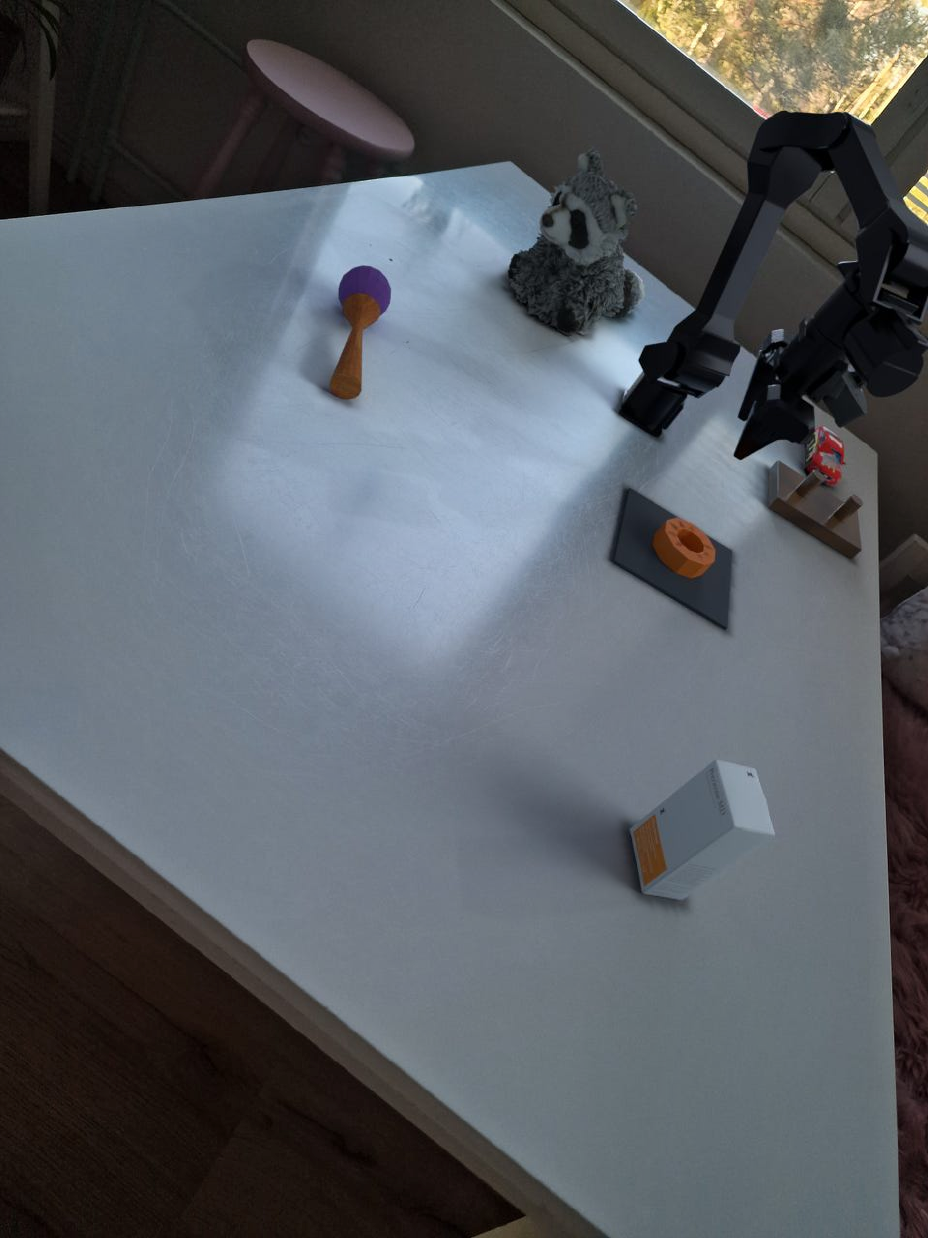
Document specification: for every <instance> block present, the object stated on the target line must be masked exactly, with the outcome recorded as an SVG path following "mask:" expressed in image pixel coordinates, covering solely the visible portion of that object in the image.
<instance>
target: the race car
mask: <svg viewBox="0 0 928 1238" xmlns="http://www.w3.org/2000/svg"><path fill="white" fill-rule="evenodd" d="M844 443H845V442H844V441H843V440H842V439H841V437H839V436H838V435H837V434H836V433H835V432H833V431H832V430H831V429H829V428H827V427H825V426H821V425H820V426H818V427H816V428H815V433H814V434H813V435H812V436H811V437H810V438H809V439H808V440H807V441H806V442H805V443H804V444H805V446H806V451H805V452H806V453H805V464H804V467H803V468H804V470H806V471H807V472H809V474H810V473H811V472H812V471H813V470H817V471H819V472H820V473H821V474H822V475H823V476H824V478H825V480H824V481H823V482H822V483H821V484H823V485H825V486H828V487H834V486H836V485H837V484H838V483H839V482H840V480H841V478H842V469H843V465H844V466H846V465H847V463H846V462H845V461H844V459H845V444H844Z"/></svg>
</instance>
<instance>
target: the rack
mask: <svg viewBox="0 0 928 1238" xmlns="http://www.w3.org/2000/svg"><path fill="white" fill-rule="evenodd" d="M824 480H825V478H824V476H823V475H822V474H821V473H820V472H819V471H817V470H813V471H812V472H811V473H810V472H809V474H808V475H807V476H804V475H803V474H802V473H799V472H798V471H796V470H795V469H793V468H792V467H790V466H789V465H787V464H786V463H784V462H782V461H781V460H779V459H777V460H776V461H774V463H773V465H771V466H770V467H769V469H768V489H767V491H768V493H767V495H768V497H767V499H768V501H767V507H768V508H769V510H772V511H773V512H775V513H777V514H778V515H780V516H781V517H783V518H784V519H786V520H788V521H789V522H790V523H792V524H794V525H796V526H797V527H799V528H800V529H802V530H803V531H805V532H806V533H808V534H810V535H811V536H813V537H814V538H816V539H817V540H819V541H821V542H822V543H824V544H825V545H827V546H829V547H830V548H832V549H834V550H835V551H837V552H839V553H840V554H842V555H843V556H845V557H846V558H848V559H849V560H853V559H854V558H855V557H856V556H857V555H858V554H859V553H861V552H862V550H863V549H862V540H861V531H860V521H859V512H858V510H859V509H861V507H862V506H864V502H863V500H862V499H861V498H860V497H859V495H857V494H851V495H850V496H849V497H848V498H846V500H845V501H843V500H842V499H841V498H838V497H837V496H836V495H834V494H833V493H831V492H829V491H828V490H826V489H825V488H823V487H821V486H820V485H821V484H823V483H822V482H823V481H824Z"/></svg>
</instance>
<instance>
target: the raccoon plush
mask: <svg viewBox="0 0 928 1238" xmlns="http://www.w3.org/2000/svg"><path fill="white" fill-rule="evenodd" d="M601 157H602V156H601V153H599V150H596V149H595V147H594V146H591V147H590V149H589V150H587V152H584V153H580V154H579V156H578V157H577V165H578V166H577V168H578V172H576V173H574V174H572V175H571V176H570V177H569V178H567V179H565V181H562V183H561V184H559V185H558V186H555V185H554V186H553V189H554V190H555V191H554V192H550V198H549V202H550V204H551V205H548V206H547V208H546V209H545V210H544V211H543V212H542V214H541V215H540V218H539V222H538V223H539V230H540V233H539V232H538V235H539V236H537V237H536V242H535V243H534V244H533V245H532V247H529V248H528V250H525V249H524V250H522V249H520V251H519V252H517V253H514V254H513V256H512V257H511V258H510V263H509V266H508V270H507V278H508V281H509V283H510V287H512V289H513V295H514V296H515V297H514V298H515V299H516V301H517V300H518V302H519V303H520V304H522V303H523V304H527V306H526V308H527V310H528V312H527V314H528V315H532V316H534V317H538V320H540V321H541V322H543V323H544V324H546V325H547V324H549V323H550V325H551V327H554V328H556V330H557V331H559V332H561V333H562V334H564V335H566V336H568V337H573V336H576V334H580V335H581V336H590V335H591V334H590V331H591V330H592V328H594V325H595V324H596V322H598V321H599V319H600V318H601V316H604V317H608V318H609V317H610V318H612V317H614V318H616V319H622V318H625V317H626V315H627V314H628V315H630V314H631V312H633V311H634V309H635V308H636V306H638V305H639V304H640V303H641V302H642V301H643V299H644V298H645V296H646V289H645V288H646V285H645V284H644V282H643V279H642V278H641V277H640V275H638V274H637V273H636V271H632V270H631V269H628V268H625V266H624V261H625V258H626V257H625V255H624V252H623V251H624V248H623V247H622V246H621V243H622V244H623V243H624V242H626V241H627V237H628V236H629V230H628V226H631V221H633V219H634V218H635V216H636V215H637V211H638V205H637V204H638V202H637V200H636V199H635V197H634V193H633V192H630V190H625V187H624V186H623V185H622V186H618V184H614V183H615V181H613V180H610V179H606V176H605V175H604V172H605V170H604V162H603V159H601Z"/></svg>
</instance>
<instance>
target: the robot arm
mask: <svg viewBox="0 0 928 1238" xmlns="http://www.w3.org/2000/svg"><path fill="white" fill-rule="evenodd" d="M746 169H747V170H746V171H747V173H746V174H747V189H748V190H747V194H746V196H745V198H744V200H743V202H742V205H741V207H740V210H739V212H738V214H737V216H736V219H735V221H734V223H733V225H732V228H731V229H730V231H729V234H728V237H727V238H726V240H725V243H724V246H723V247H722V250H721V252H720V254H719V257H718V259H717V262H716V263H715V265H714V268H713V270H712V272H711V274H710V277H709V279H708V281H707V284H706V286H705V287H704V290H703V293H702V295H701V297H700V299H699V302H698V304H697V306H696V308H695V309H694V311H692V312H691V313H690V314H688V315H687V316H686V317H685V318H683V319H682V320H680V322H678V323H677V324H676V325H675V326H674V327H673V328H672V330H671V332H670V334H669V336H668V338H667V339H666V341H661V342H657V343H650V344H646V345H644V346H643V348H642V351H641V353H640V355H639V357H638V359H637V361H638V364H639V366H640V368H641V372H640V374H639V375H638V376H637V378H636V379H635V380H634V382H633V383H632V385H631V386H630V387H629V389H628V388H627V389H625V390H624V391H623V393H622V397H621V401H620V405H619V408H618V413H619V414H620V415H621V416H622V417H624V418H626V419H628V420H629V421H630V422H632V423H634V424H635V425H637V426H639V427H640V428H642V429H643V430H644V431H647V432H648V433H650V434H651V435H653V436H655V437H656V438H660V437H661V436H662V434H663V431H665V430H668V429H669V427H670V426H671V425H672V424H673V422H674V421H675V420H676V419H677V417H678V416H679V415H680V414H681V412H682V411H684V409H685V401H686V399H687V398H688V396H690V397H694V398H695V399H700V398H702V397H703V396H705V395H706V394H707V393H709V392H711V391H713V390H714V389H716V388H717V389H718V388H719V387H720V386H721V385H722V384H723V382H724V381H725V379H726V377H730V376H731V373H732V369H733V368H732V367H733V365H734V363H735V361H736V359H737V358H738V356H739V354H740V352H741V347H742V345H741V344H742V343H740V342H737V341H735V330H734V329H735V328H734V325H735V322H736V320H737V317H738V316H739V314H740V312H741V309H742V307H743V305H744V303H745V300H746V298H747V296H748V294H749V292H750V290H751V288H752V286H753V283H754V281H755V279H756V277H757V274H758V272H759V271H760V268H761V266H762V264H763V262H764V260H765V257H766V255H767V254H768V251H769V249H770V247H771V244H772V243H773V240H774V238H775V236H776V233H777V231H778V229H779V227H780V225H781V223H782V221H783V219H784V216H785V214H786V212H787V211H788V208H789V207H790V206H791V205H792V204H793V203H794V202H796V201H797V200H798V199H799V198H801V197H803V195H805V194H806V193H807V192H808V191H809V190H811V188H812V187H813V186H814V184H815V182H816V181H817V179H818V176H819V175H820V174H826V173H834V172H835V173H836V176H837V177H838V179H839V181H840V184H841V187H842V189H843V191H844V194H845V196H846V198H847V200H848V201H847V202H848V203H849V205H850V207H851V209H852V213H853V214H854V217H855V219H856V222H857V227H858V228H857V229H858V230H857V232H856V235H855V238H854V247H855V252H856V253H855V254H856V257H857V260H854V261H840V262H839V263H838V264H837V265H836V270H838V272H839V273H840V275H841V277H842V278H843V281H842V282H841V283H840V284H839V285H838V286H837V288H835V290H834V291H833V292H832V293H831V294H830V296H828V297H827V299H826V300H825V301H824V302H823V304H822V305H821V306H820V307H819V308H818V309H817V310H816V311H815V313H814V314H813V315H812V316H811V318H810V319H809V318H808V317H806V316H805V317H804V318H803V319H802V320H801V321H800V323H799V324H798V332H797V333H796V334H795V335H793V334H791V333H790V332H789V331H787V329H784V328H781V329H775V330H771V331H770V332H769V333H768V335H767V336H766V337H765V338H764V339H763V341H762V342H761V347H760V350H759V351H758V353H757V357H756V360H755V362H754V366H753V368H752V371H751V375H750V378H749V380H748V383H747V388H746V391H745V392H744V395H743V399H742V401H741V403H740V404H741V405H740V408H739V410H738V413H737V418H738V419H739V420H740V421H742V422H745V424H744V426H743V429H742V431H741V433H740V436H739V439H738V441H737V443H736V446H735V449H734V451H733V454H732V455H733V457H734V458H735V459H736V460H739V461H743V460H744V459H747V458H748V457H750V456H752V455H753V454H755V453H756V452H759V451H760V450H763V448H765V447H767V446H769V445H772V444H773V443H775V442H778V441H788V442H789V443H790V444H791V443H792V444H797V445H804V444H805V442H806V441H807V440H808V439H809V438H810V437H811V436H812V435H813V434H814V433H815V429H816V416H815V414H816V413H815V406H814V405H813V404H811V403H810V402H808V401H807V400H805V399H804V397H805V395H806V396H808V399H809V400H811V401H812V402H814V403H815V404H817V405H818V404H819V403H820V402H821V401H822V402H823V403H824V405H825V407H826V408H827V409H828V411H829V412H830V414H831V416H832V417H833V418H834V423H835V425H836V426H837V427H838V428H840V429H841V428H843V427H845V426H848V425H849V424H852V423H853V422H855V421H857V420H859V419H860V418H863V417H864V416H866V415H868V407H867V406H868V405H867V399H866V396H865V391H864V389H862V387H863V386H864V387H865V389H866V390H867V392H868V393H869V394H870V395H871V396H873V397H875V398H890V397H893V396H896V395H898V394H900V393H902V392H904V391H905V390H907V389H909V388H910V387H911V386H912V385H914V384H915V383H916V381H917V380H919V375H920V374H921V373H922V371H923V368H924V364H925V363H924V362H925V359H924V357H923V355H924V354H925V352H927V351H928V339H927V337H925V335H923V334H921V333H920V331H919V330H918V328H917V327H916V326H921V325H922V324H923V323H924V320H925V317H926V314H927V311H928V225H927V223H925V222H924V221H923V220H922V219H921V218H920V217H918V215H916V214H915V213H914V212H913V210H911V209H910V208H909V207H908V205H907V203H906V202H905V199H904V197H903V195H902V193H901V191H900V188H899V186H898V185H897V184H898V183H897V182H896V180H895V178H894V176H893V174H892V172H891V170H890V167H889V165H888V163H887V161H886V159H885V156H884V154H883V153H882V150H881V148H880V146H879V144H878V142H877V135H876V131H875V130H874V127H873V126H872V125H871V124H870V123H868V122H866V121H865V120H862V119H860V118H859V117H857V116H855V115H853V114H852V113H850V112H848V111H833V112H829V113H828V112H827V113H819V112H804V111H791V112H790V111H788V110H786V109H785V110H784V109H783V110H780V111H777V112H776V113H774V114H773V115H771V116H770V117H769V116H768V117H767V118H766V119H765V120H764V121H763V122H761V124H760V126H759V127H758V129H757V131H756V133H755V137H754V140H753V143H752V146H751V149H750V152H749V155H748V158H747V161H746ZM882 285H885V286H887V287H889V288H891V289H894V290H896V291H898V292H901V293H902V294H904V295H906V297H905V296H902V295H900V294H898V293H896V292H894V291H891V290H889V289H887V288H885V287H882ZM915 325H916V326H915Z"/></svg>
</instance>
